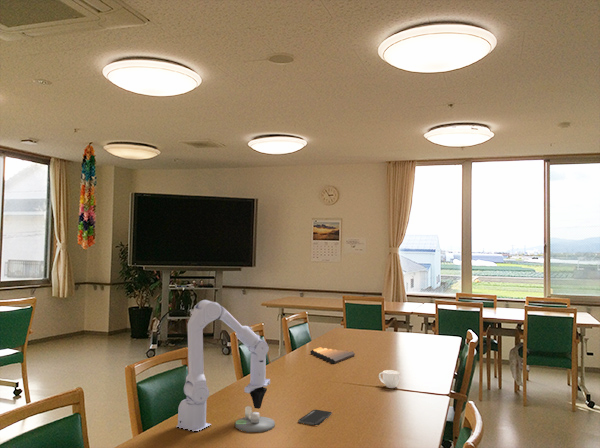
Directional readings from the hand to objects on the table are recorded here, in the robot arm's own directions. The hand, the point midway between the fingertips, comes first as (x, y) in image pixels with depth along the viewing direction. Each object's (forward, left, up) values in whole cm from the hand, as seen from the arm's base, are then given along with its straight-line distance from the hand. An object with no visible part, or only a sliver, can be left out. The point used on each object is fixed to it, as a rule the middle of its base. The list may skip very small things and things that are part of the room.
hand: (257, 407), depth 189 cm
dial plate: (+5, -9, -3) cm, 11 cm away
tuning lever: (+3, -8, -2) cm, 8 cm away
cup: (+29, +66, -3) cm, 72 cm away
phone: (+20, +9, -4) cm, 22 cm away
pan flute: (-23, +108, -4) cm, 110 cm away
